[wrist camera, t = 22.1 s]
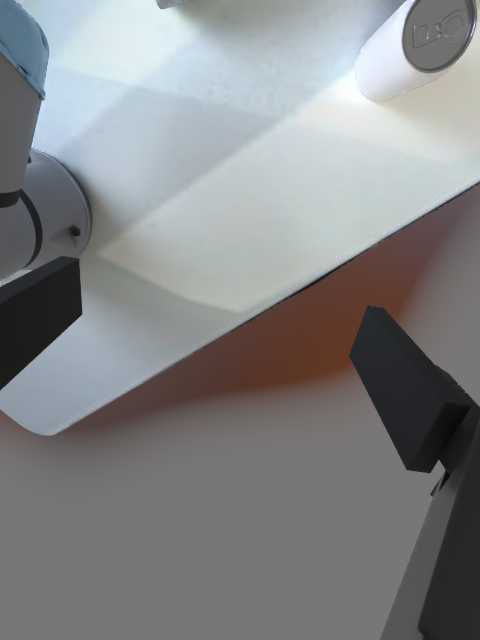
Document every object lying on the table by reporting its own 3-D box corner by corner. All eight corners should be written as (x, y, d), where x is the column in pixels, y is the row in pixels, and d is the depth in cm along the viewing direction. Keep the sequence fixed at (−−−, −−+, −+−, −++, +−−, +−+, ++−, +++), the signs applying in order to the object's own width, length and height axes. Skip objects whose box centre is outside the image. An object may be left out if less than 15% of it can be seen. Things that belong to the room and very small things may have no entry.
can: (412, 94, 37) (478, 67, 26) (354, 108, 38) (396, 88, 27) (413, 22, 34) (487, -40, 24) (351, 39, 35) (395, -14, 24)
